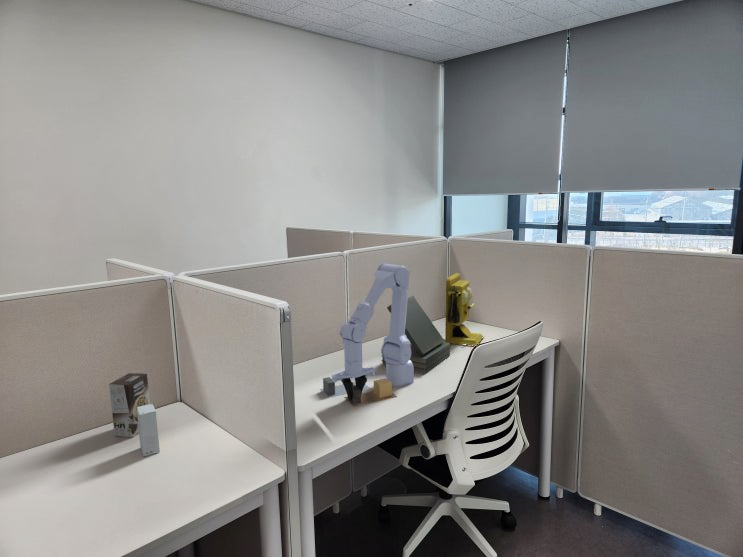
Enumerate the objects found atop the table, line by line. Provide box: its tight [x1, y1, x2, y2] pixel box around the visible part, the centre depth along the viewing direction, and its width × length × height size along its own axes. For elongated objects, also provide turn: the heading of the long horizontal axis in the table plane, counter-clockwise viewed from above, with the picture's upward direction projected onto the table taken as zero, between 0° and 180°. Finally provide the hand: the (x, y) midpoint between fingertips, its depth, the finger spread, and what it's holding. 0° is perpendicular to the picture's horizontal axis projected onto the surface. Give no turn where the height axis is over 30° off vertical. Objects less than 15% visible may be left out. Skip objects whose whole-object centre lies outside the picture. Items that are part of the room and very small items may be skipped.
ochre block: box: [373, 377, 393, 398], centre depth 165 cm, size 4×4×4 cm
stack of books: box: [381, 295, 451, 375], centre depth 198 cm, size 23×20×25 cm
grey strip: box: [319, 376, 372, 399], centre depth 170 cm, size 16×8×5 cm, turn 116°
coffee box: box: [108, 372, 151, 438], centre depth 144 cm, size 9×6×16 cm
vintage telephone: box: [444, 272, 484, 348], centre depth 222 cm, size 31×14×30 cm, turn 155°
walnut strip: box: [344, 385, 398, 407], centre depth 163 cm, size 16×8×5 cm, turn 116°
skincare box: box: [137, 403, 161, 457], centre depth 133 cm, size 6×4×12 cm
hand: (354, 398), depth 161 cm, fingers closed on walnut strip, 2 cm apart
